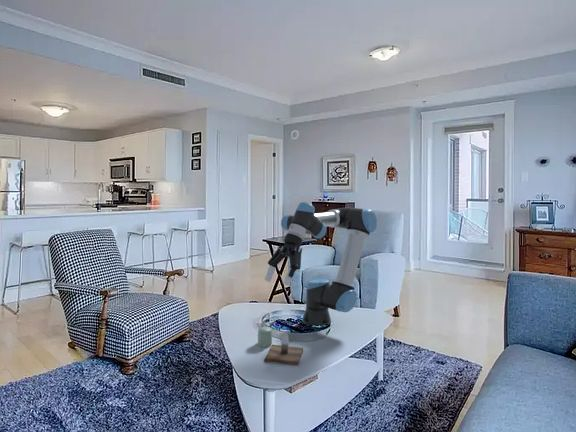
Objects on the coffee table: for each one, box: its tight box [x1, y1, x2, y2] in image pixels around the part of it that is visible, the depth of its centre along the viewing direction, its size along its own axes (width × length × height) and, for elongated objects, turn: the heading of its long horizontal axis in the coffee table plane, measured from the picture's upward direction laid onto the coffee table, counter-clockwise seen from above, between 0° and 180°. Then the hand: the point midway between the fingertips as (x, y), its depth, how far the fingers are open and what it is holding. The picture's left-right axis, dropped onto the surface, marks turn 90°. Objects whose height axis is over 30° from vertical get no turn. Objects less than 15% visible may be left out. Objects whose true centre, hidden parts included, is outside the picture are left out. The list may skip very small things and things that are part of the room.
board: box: [264, 343, 304, 366], centre depth 172 cm, size 14×14×2 cm
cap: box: [257, 326, 273, 348], centre depth 183 cm, size 6×6×7 cm
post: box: [280, 332, 290, 354], centre depth 171 cm, size 3×3×8 cm
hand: (276, 282), depth 166 cm, fingers open, 13 cm apart
